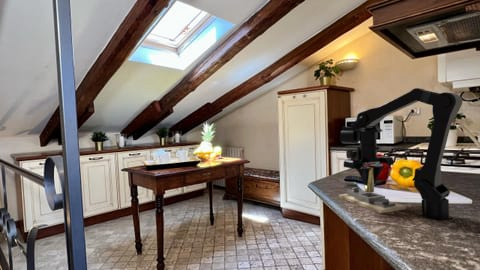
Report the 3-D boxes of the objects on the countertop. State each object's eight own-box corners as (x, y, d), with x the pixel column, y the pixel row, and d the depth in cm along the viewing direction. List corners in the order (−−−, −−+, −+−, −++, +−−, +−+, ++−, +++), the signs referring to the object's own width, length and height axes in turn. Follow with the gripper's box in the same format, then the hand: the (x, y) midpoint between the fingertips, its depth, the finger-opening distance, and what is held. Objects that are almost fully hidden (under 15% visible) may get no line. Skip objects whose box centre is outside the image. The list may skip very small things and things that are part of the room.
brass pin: (369, 189, 105) (369, 166, 104) (376, 191, 102) (375, 168, 101) (362, 190, 104) (362, 167, 104) (369, 192, 101) (368, 168, 100)
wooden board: (405, 209, 94) (405, 206, 94) (380, 213, 91) (380, 210, 91) (360, 194, 115) (360, 191, 115) (338, 197, 112) (338, 194, 112)
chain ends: (398, 205, 95) (398, 196, 95) (381, 208, 93) (380, 199, 93) (359, 193, 113) (359, 185, 113) (344, 195, 111) (344, 187, 111)
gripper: (372, 141, 112) (373, 178, 113) (333, 144, 107) (335, 183, 108) (394, 142, 102) (395, 183, 102) (353, 146, 96) (354, 189, 97)
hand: (369, 184), depth 103 cm, fingers closed on brass pin, 3 cm apart
